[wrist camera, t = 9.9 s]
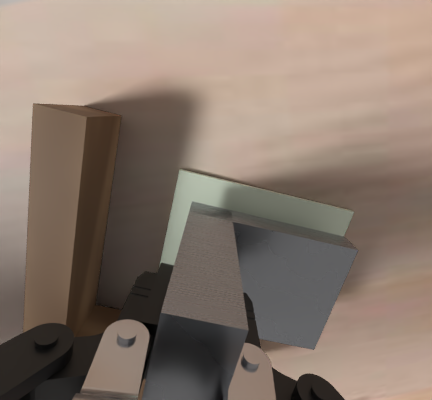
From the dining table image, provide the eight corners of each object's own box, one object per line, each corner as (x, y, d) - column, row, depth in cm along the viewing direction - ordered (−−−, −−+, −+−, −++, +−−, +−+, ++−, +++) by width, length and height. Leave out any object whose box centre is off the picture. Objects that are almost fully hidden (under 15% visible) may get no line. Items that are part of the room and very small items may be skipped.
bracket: (169, 300, 15) (123, 483, 8) (191, 201, 14) (160, 312, 6) (305, 328, 16) (386, 525, 8) (343, 236, 14) (491, 379, 7)
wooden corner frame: (61, 323, 18) (21, 379, 14) (82, 105, 14) (32, 103, 10) (237, 357, 19) (242, 419, 15) (305, 161, 15) (335, 178, 11)
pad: (154, 290, 17) (153, 293, 17) (180, 168, 15) (179, 169, 15) (304, 321, 18) (306, 325, 18) (351, 210, 16) (354, 212, 16)
